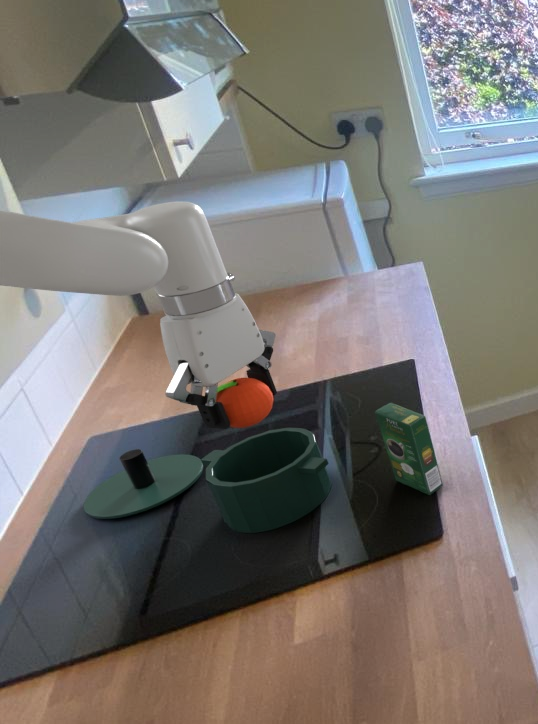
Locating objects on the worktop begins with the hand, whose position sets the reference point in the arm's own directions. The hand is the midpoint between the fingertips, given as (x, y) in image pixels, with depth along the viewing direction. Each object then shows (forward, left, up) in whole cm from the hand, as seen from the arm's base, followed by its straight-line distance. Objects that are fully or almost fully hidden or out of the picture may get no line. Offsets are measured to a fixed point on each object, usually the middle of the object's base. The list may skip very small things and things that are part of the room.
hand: (243, 409), depth 103 cm
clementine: (0, 0, -3) cm, 3 cm away
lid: (0, +23, -16) cm, 28 cm away
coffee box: (+6, -19, -17) cm, 26 cm away
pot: (0, 0, -16) cm, 16 cm away
